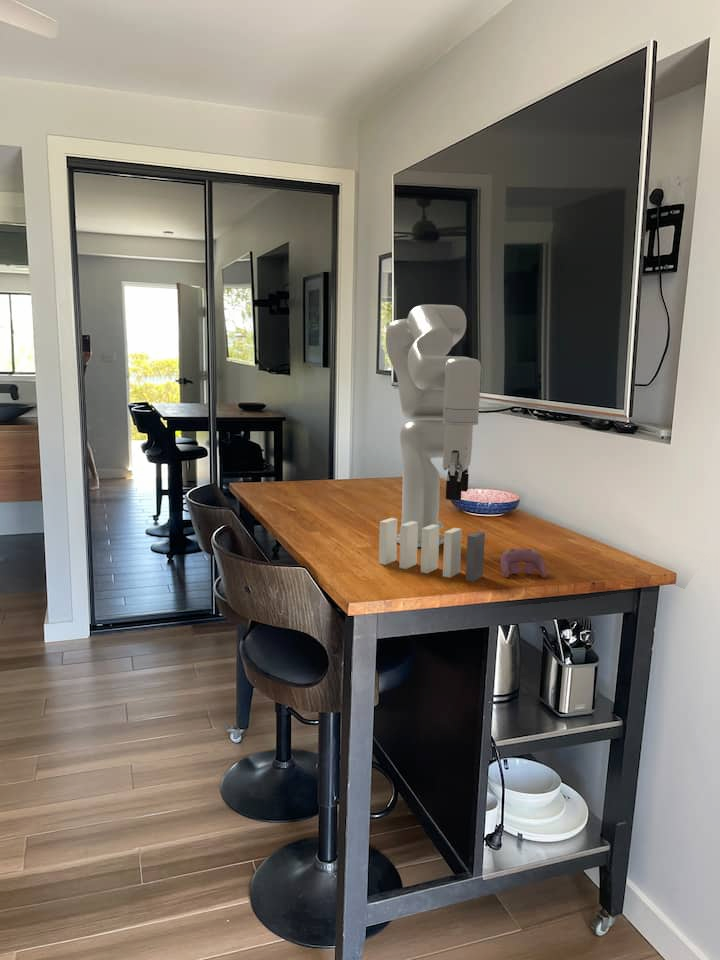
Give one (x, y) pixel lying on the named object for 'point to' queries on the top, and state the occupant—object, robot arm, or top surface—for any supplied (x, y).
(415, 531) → the domino
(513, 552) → the video game controller
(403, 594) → the top surface
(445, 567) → the domino
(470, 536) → the domino
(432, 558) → the domino
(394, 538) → the domino
